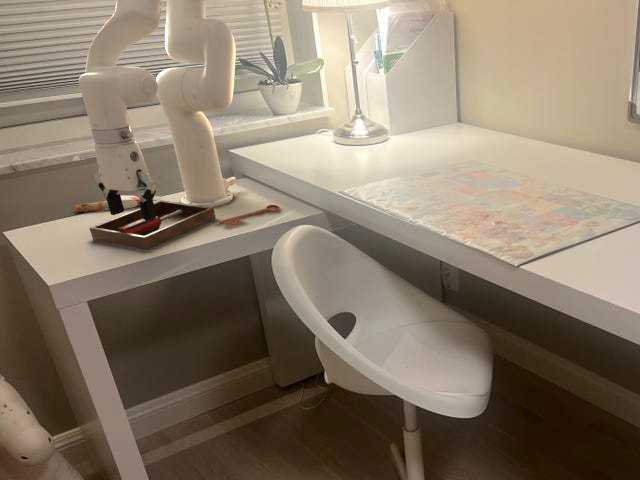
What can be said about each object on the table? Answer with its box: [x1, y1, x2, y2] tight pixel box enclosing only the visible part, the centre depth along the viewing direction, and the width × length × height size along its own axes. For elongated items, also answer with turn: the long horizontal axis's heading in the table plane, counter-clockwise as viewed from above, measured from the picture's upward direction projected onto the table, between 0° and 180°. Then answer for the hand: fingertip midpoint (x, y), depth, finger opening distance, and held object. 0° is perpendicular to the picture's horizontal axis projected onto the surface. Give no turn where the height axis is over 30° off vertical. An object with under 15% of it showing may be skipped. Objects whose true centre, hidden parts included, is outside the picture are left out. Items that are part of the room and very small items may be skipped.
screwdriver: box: [118, 210, 182, 236], centre depth 165 cm, size 17×3×3 cm, turn 155°
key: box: [218, 204, 281, 227], centre depth 172 cm, size 6×1×15 cm
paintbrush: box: [74, 194, 163, 213], centre depth 180 cm, size 4×3×20 cm
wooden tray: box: [89, 199, 217, 251], centre depth 165 cm, size 21×17×3 cm
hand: (133, 215), depth 159 cm, fingers open, 9 cm apart
